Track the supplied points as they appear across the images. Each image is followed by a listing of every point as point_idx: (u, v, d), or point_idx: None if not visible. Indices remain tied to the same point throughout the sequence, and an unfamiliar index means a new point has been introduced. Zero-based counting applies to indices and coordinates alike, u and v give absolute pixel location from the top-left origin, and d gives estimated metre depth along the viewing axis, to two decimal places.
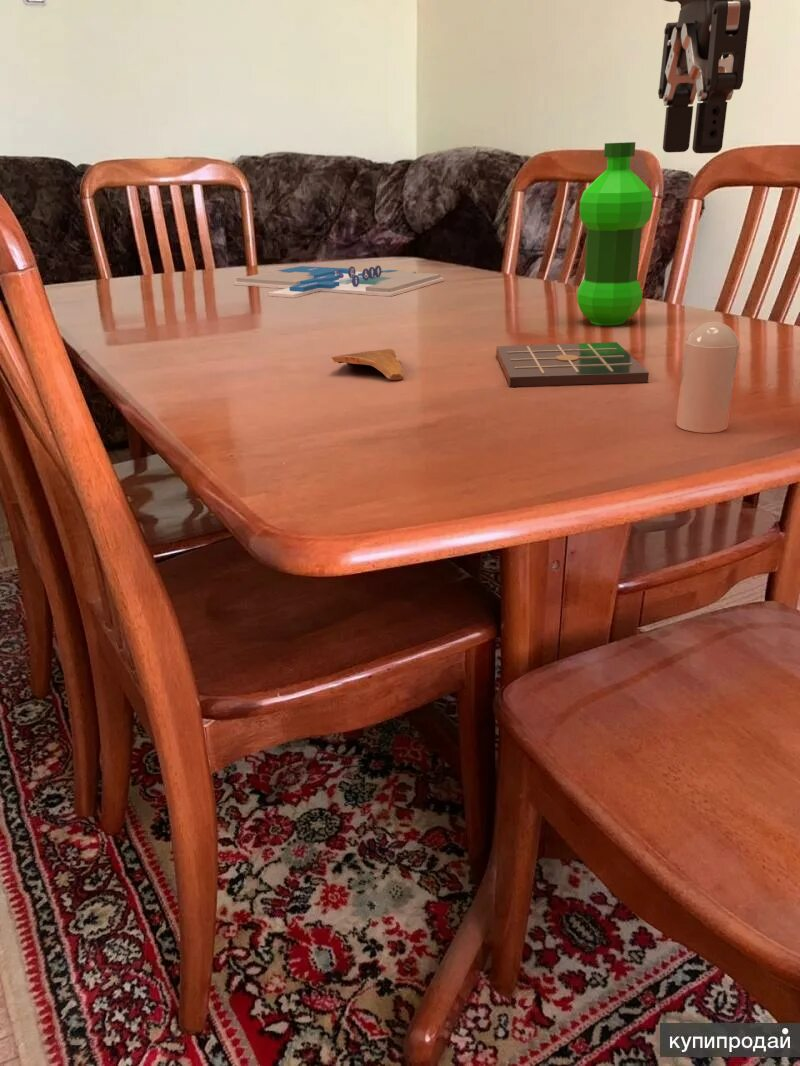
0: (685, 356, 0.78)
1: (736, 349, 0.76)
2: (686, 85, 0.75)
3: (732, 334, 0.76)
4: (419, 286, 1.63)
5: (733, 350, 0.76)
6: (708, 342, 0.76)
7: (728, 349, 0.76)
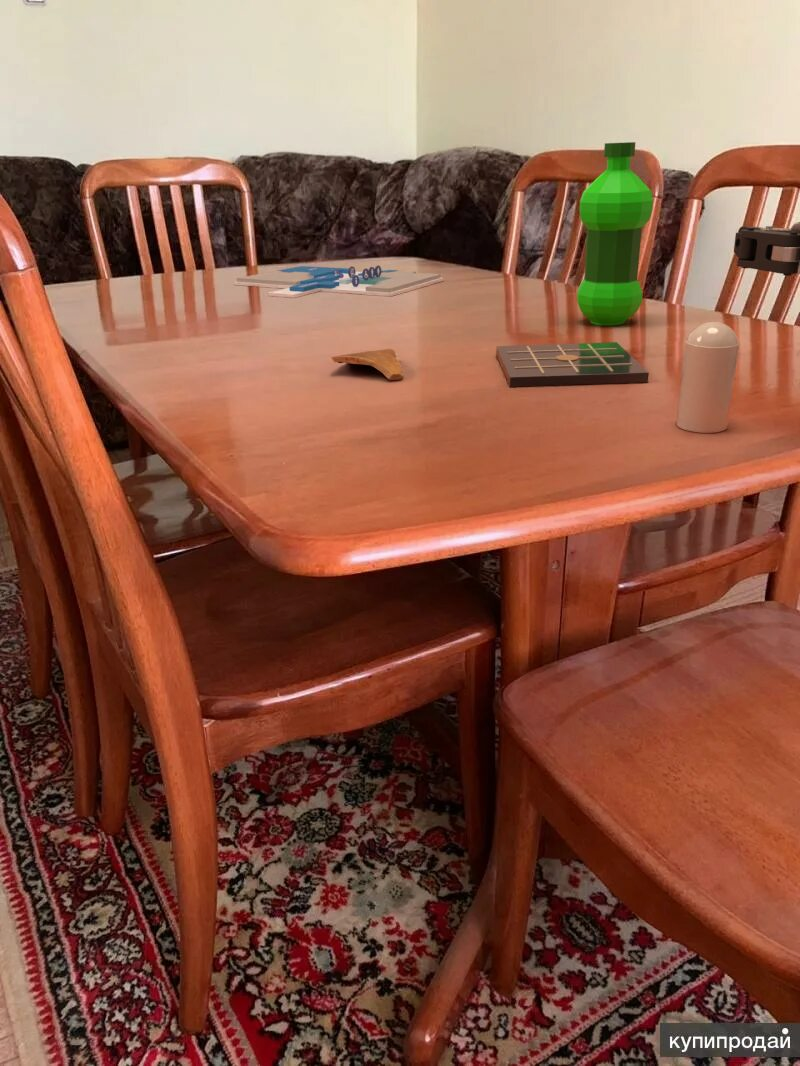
0: (685, 356, 0.78)
1: (736, 349, 0.76)
2: None
3: (732, 334, 0.76)
4: (419, 286, 1.63)
5: (733, 350, 0.76)
6: (708, 342, 0.76)
7: (728, 349, 0.76)
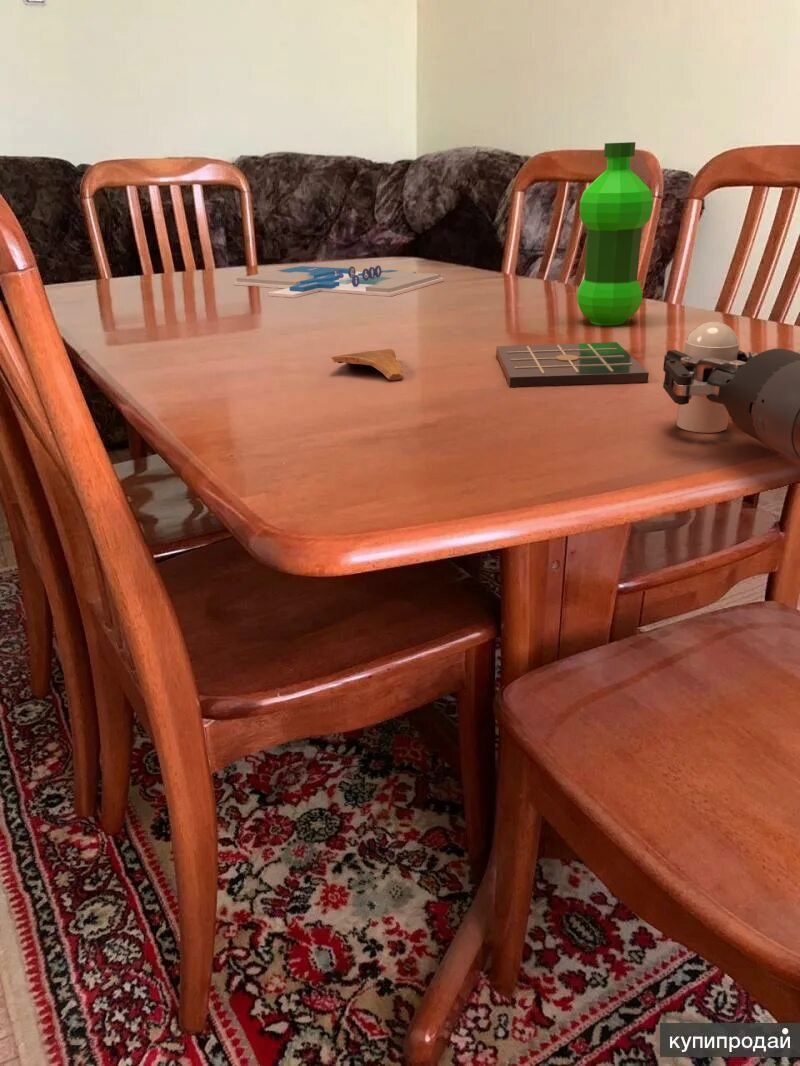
0: None
1: (736, 349, 0.76)
2: None
3: (732, 334, 0.76)
4: (419, 286, 1.63)
5: (733, 350, 0.76)
6: (708, 342, 0.76)
7: (728, 349, 0.76)
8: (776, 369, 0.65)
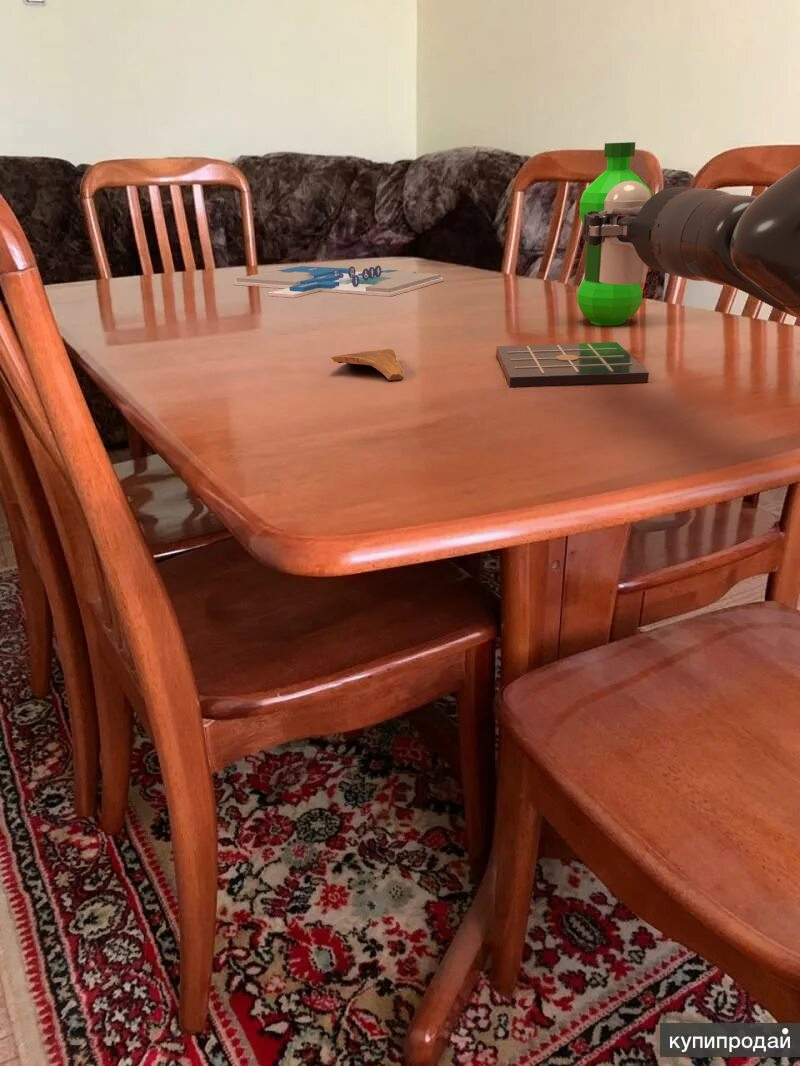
0: None
1: None
2: None
3: (645, 190, 0.84)
4: (419, 286, 1.63)
5: None
6: (623, 196, 0.84)
7: (640, 202, 0.84)
8: (671, 197, 0.73)
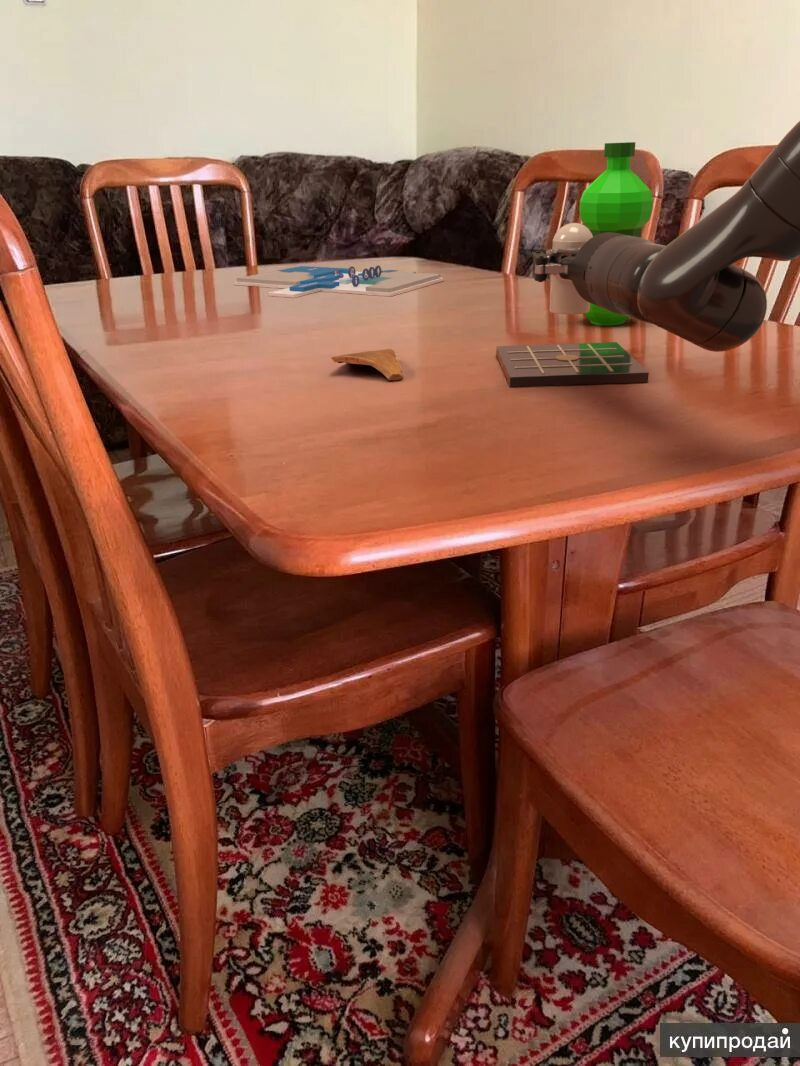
0: None
1: None
2: None
3: (587, 231, 0.95)
4: (419, 286, 1.63)
5: None
6: (567, 237, 0.94)
7: (583, 243, 0.94)
8: (601, 243, 0.83)
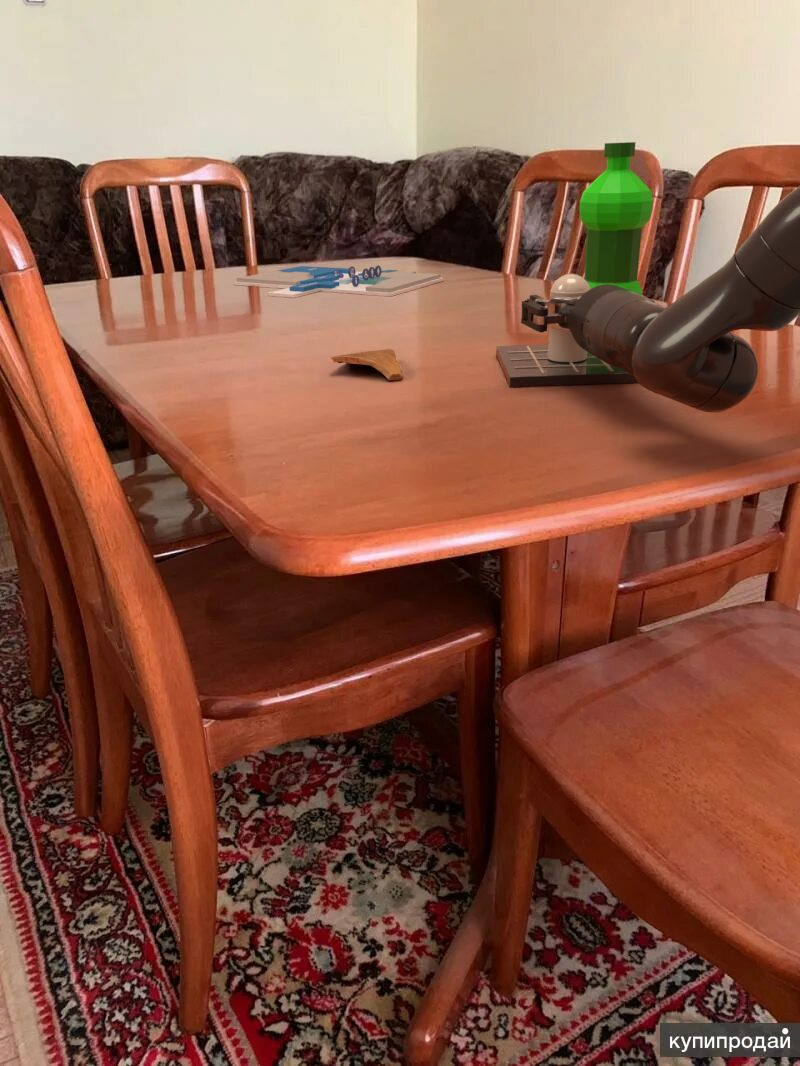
0: None
1: None
2: None
3: (584, 283, 0.97)
4: (419, 286, 1.63)
5: None
6: (565, 289, 0.97)
7: (580, 294, 0.97)
8: (599, 297, 0.86)
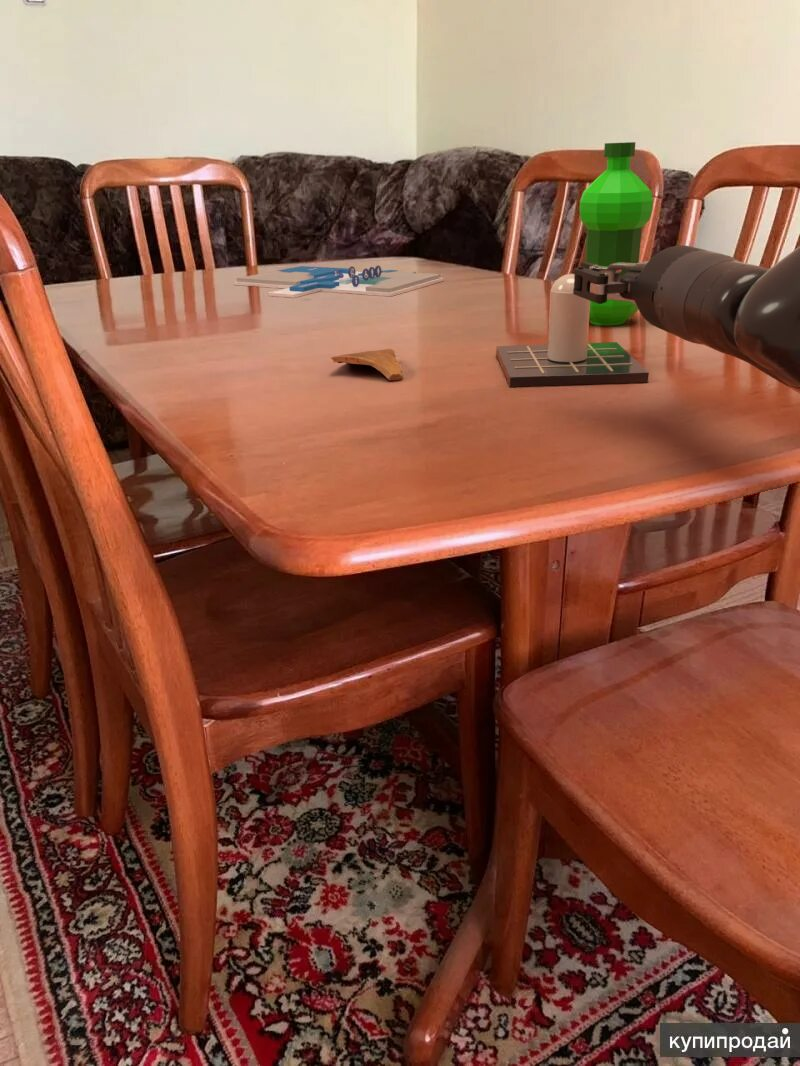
0: (550, 301, 0.99)
1: None
2: None
3: None
4: (419, 286, 1.63)
5: None
6: (565, 289, 0.97)
7: None
8: (674, 259, 0.71)
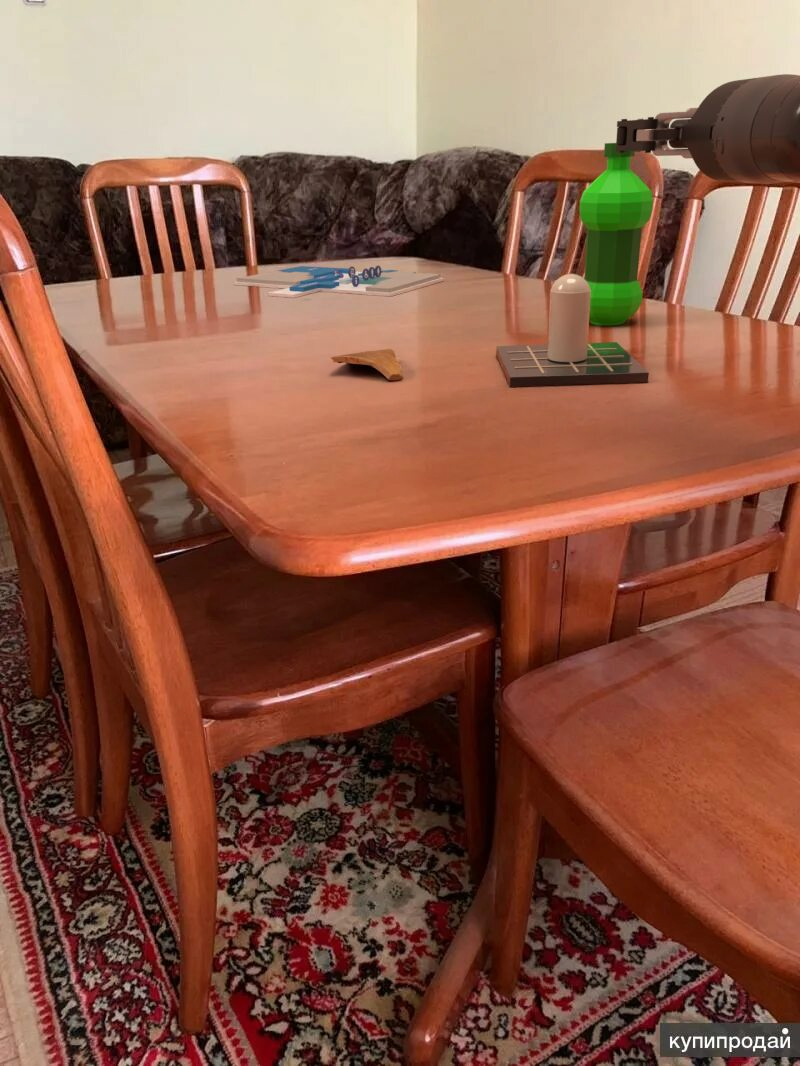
0: (550, 301, 0.99)
1: (587, 294, 0.97)
2: None
3: (584, 283, 0.97)
4: (419, 286, 1.63)
5: (585, 295, 0.97)
6: (565, 289, 0.97)
7: (580, 294, 0.97)
8: (736, 88, 0.63)
